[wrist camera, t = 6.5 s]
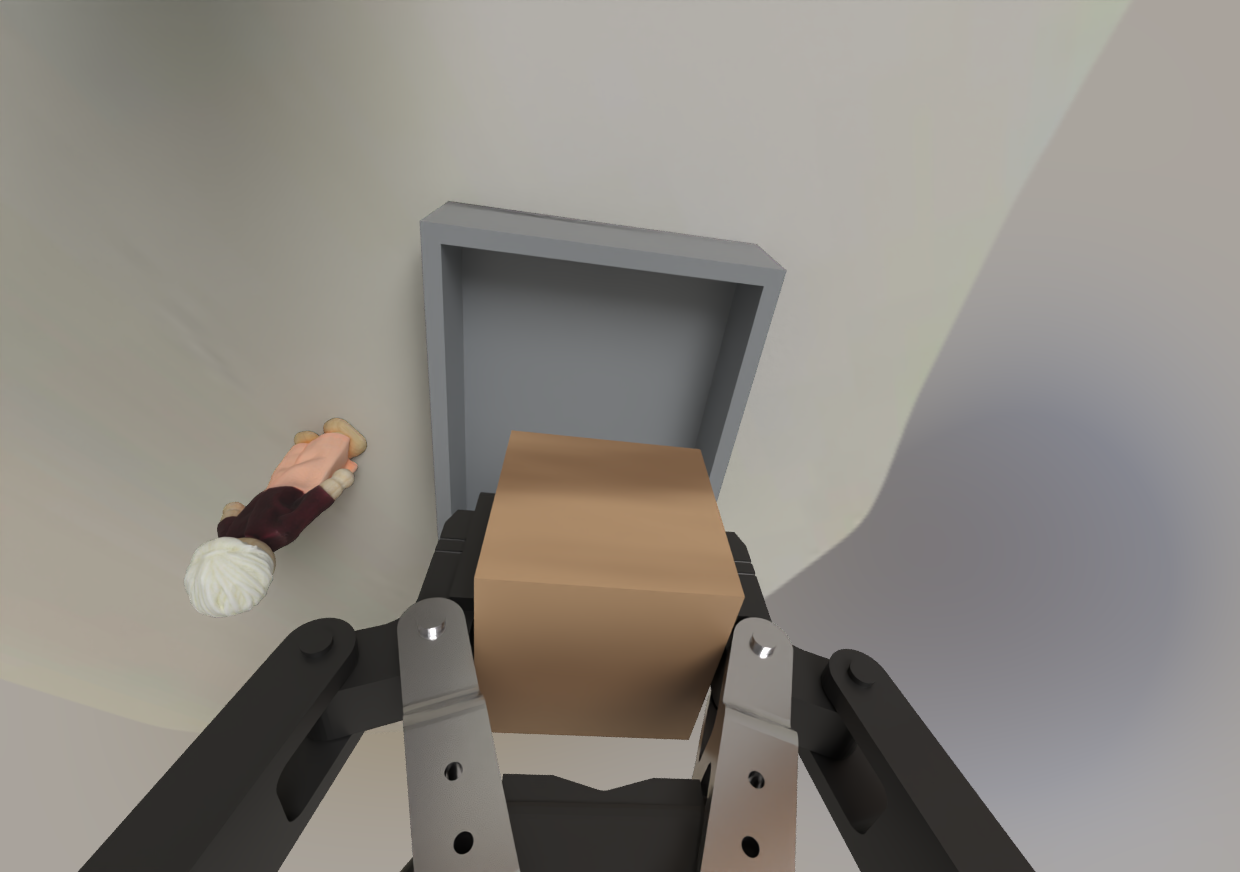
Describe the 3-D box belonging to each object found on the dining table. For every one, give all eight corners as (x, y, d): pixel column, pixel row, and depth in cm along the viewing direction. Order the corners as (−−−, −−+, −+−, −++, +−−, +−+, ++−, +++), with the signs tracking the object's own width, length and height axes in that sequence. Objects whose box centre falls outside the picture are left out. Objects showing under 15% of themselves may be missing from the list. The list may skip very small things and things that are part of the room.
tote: (448, 201, 26) (419, 220, 22) (757, 244, 27) (786, 270, 23) (457, 510, 36) (439, 564, 32) (681, 527, 38) (692, 581, 33)
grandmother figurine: (316, 488, 35) (191, 661, 24) (268, 446, 33) (109, 614, 22) (406, 435, 33) (314, 597, 22) (359, 388, 31) (235, 540, 20)
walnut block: (511, 430, 14) (474, 578, 9) (700, 449, 14) (744, 596, 10) (505, 567, 16) (474, 732, 12) (665, 579, 17) (688, 740, 13)
